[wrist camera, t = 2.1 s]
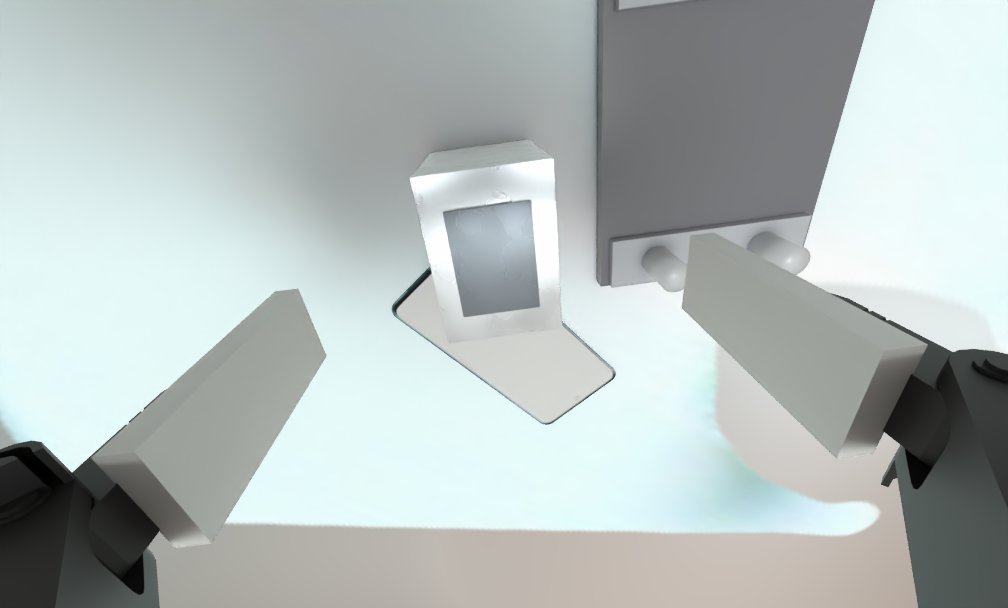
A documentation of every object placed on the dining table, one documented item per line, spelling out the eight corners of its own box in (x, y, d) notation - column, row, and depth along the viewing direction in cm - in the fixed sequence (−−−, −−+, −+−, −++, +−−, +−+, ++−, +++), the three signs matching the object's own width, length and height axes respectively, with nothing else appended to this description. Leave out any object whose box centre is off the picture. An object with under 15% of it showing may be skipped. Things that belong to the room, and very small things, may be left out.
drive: (431, 152, 19) (408, 179, 13) (528, 139, 19) (554, 158, 13) (455, 276, 22) (448, 345, 16) (538, 265, 22) (562, 329, 16)
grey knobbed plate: (598, -71, 15) (632, -120, 12) (889, -111, 15) (1005, -170, 12) (597, 280, 23) (617, 311, 20) (789, 254, 23) (843, 280, 20)
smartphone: (464, 232, 21) (619, 375, 27) (464, 229, 21) (616, 370, 27) (386, 311, 23) (546, 427, 29) (388, 307, 23) (545, 422, 29)
